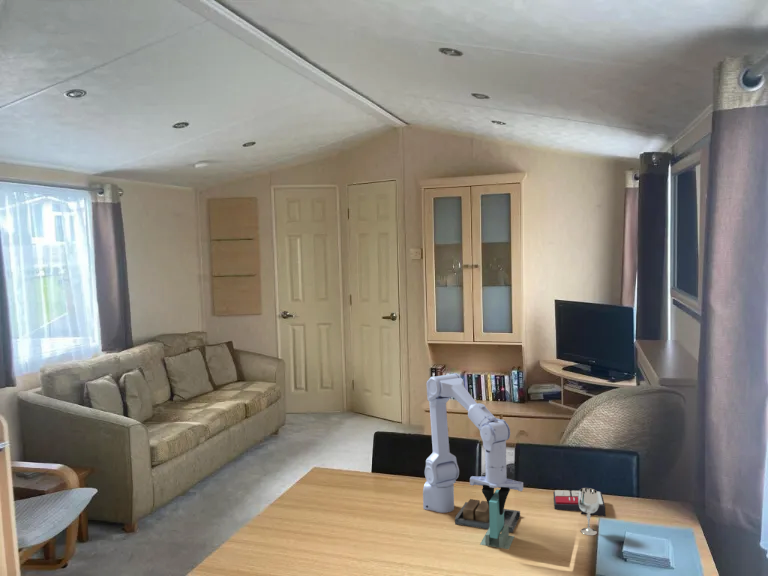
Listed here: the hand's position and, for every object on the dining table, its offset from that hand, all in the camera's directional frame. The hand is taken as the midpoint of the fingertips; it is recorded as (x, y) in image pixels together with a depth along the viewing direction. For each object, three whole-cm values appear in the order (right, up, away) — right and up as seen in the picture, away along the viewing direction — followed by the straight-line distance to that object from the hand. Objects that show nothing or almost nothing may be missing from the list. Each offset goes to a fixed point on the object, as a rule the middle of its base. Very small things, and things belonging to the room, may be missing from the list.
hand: (496, 512), depth 167 cm
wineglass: (+28, -8, +6) cm, 29 cm away
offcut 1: (-5, -7, +16) cm, 18 cm away
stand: (0, -9, 0) cm, 9 cm away
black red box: (+30, -8, +23) cm, 39 cm away
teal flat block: (0, -5, 0) cm, 5 cm away
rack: (0, -8, +13) cm, 16 cm away
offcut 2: (-1, -7, +14) cm, 16 cm away
